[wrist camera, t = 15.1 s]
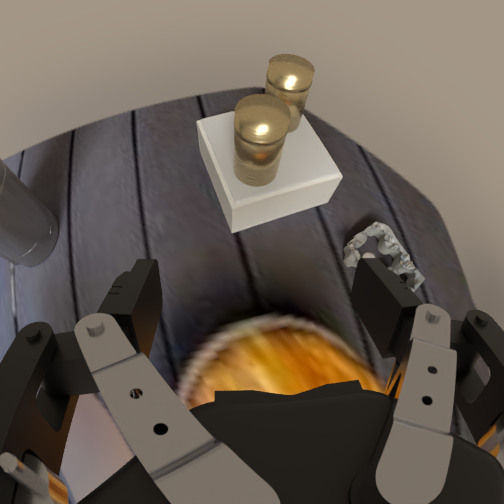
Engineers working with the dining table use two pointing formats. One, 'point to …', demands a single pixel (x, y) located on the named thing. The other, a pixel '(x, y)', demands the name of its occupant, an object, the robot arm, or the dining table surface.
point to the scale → (281, 188)
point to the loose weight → (259, 138)
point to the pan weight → (290, 84)
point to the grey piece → (385, 246)
